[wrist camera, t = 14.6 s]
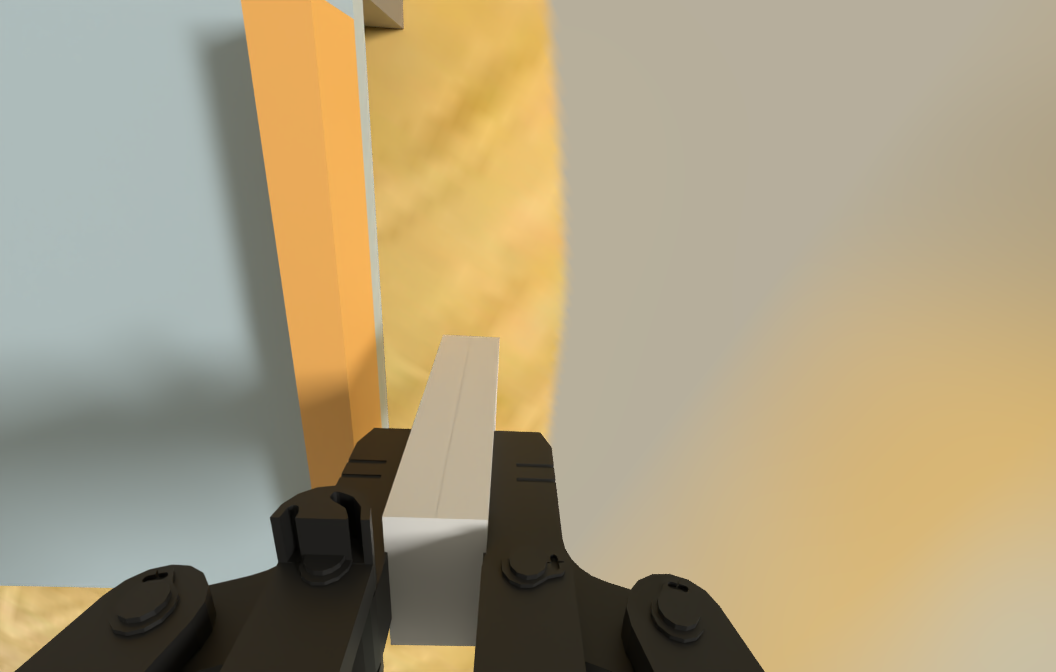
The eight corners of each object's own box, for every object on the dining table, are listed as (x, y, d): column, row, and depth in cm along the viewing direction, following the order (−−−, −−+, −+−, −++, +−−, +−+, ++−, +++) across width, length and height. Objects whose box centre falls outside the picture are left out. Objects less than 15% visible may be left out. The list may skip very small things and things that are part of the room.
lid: (-116, 563, 18) (-247, 654, 15) (-567, -151, 10) (-1050, -275, 7) (398, 574, 18) (375, 663, 15) (358, -73, 11) (296, -151, 8)
